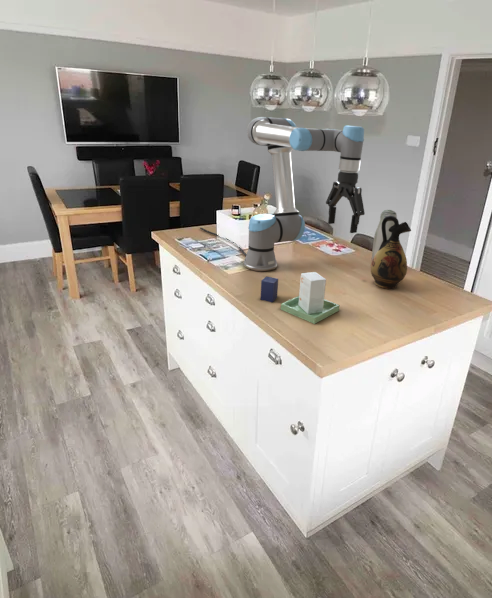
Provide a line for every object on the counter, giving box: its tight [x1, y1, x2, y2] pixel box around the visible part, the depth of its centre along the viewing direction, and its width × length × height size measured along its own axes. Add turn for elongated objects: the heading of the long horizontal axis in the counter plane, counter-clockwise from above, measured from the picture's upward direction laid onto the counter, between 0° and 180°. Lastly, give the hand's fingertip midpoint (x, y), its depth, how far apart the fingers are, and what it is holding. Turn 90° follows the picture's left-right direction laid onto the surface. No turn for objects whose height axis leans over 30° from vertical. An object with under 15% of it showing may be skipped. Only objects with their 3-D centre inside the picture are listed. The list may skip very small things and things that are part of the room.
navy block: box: [260, 276, 279, 303], centre depth 160 cm, size 5×5×8 cm
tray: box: [280, 295, 340, 325], centre depth 154 cm, size 16×16×2 cm
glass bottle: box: [371, 209, 398, 261], centre depth 198 cm, size 10×10×28 cm
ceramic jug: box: [369, 216, 412, 290], centre depth 177 cm, size 17×15×30 cm
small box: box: [298, 271, 327, 314], centre depth 152 cm, size 8×6×13 cm
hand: (341, 228), depth 162 cm, fingers open, 13 cm apart
